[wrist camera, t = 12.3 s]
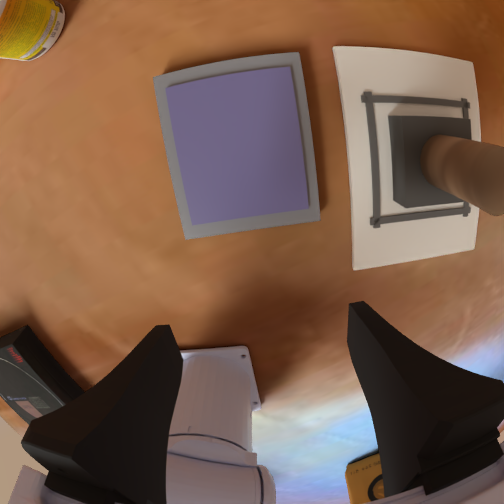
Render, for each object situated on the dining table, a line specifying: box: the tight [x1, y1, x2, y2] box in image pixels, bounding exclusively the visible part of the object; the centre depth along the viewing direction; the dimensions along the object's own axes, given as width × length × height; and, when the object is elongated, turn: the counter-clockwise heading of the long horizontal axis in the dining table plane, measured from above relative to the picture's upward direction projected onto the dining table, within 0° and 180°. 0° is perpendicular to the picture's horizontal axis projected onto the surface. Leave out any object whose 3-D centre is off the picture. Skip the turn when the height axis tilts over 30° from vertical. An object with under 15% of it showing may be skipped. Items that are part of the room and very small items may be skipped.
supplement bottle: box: [0, 0, 65, 61], centre depth 9 cm, size 6×6×10 cm
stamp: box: [388, 116, 504, 216], centre depth 14 cm, size 6×6×8 cm
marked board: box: [332, 46, 481, 271], centre depth 18 cm, size 16×12×1 cm
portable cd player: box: [0, 325, 85, 425], centre depth 28 cm, size 16×17×4 cm
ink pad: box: [153, 52, 321, 240], centre depth 18 cm, size 11×9×2 cm
